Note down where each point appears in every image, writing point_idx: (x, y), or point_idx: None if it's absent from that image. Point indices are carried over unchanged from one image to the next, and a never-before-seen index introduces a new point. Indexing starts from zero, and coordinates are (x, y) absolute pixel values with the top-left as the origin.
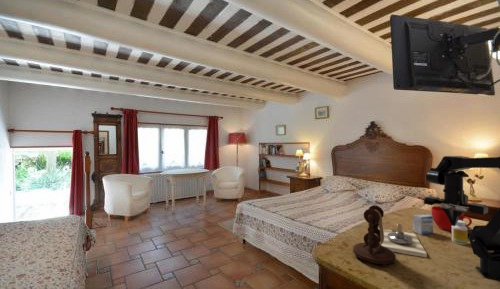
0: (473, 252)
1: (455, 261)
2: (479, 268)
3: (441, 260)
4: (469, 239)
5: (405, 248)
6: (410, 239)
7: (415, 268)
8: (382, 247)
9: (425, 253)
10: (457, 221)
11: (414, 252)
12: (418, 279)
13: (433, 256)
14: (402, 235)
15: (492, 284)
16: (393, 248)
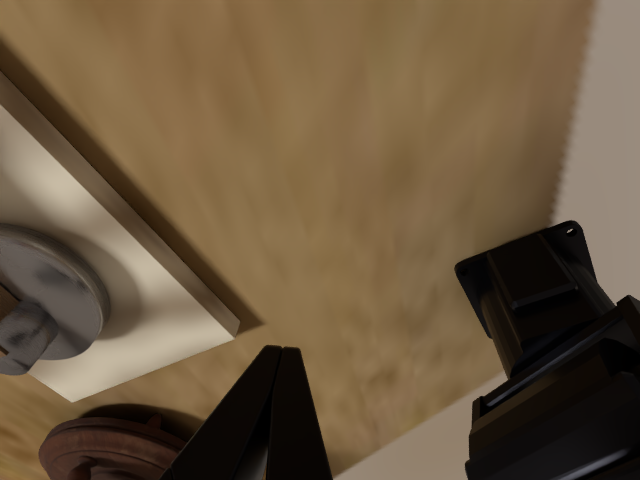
0: (473, 408)
1: (355, 257)
2: (475, 280)
3: (300, 300)
4: (469, 469)
5: (139, 354)
6: (78, 300)
7: None
8: (122, 466)
9: (229, 339)
10: (315, 412)
11: (189, 352)
12: None
13: (252, 283)
14: (40, 353)
15: None
16: (115, 385)
